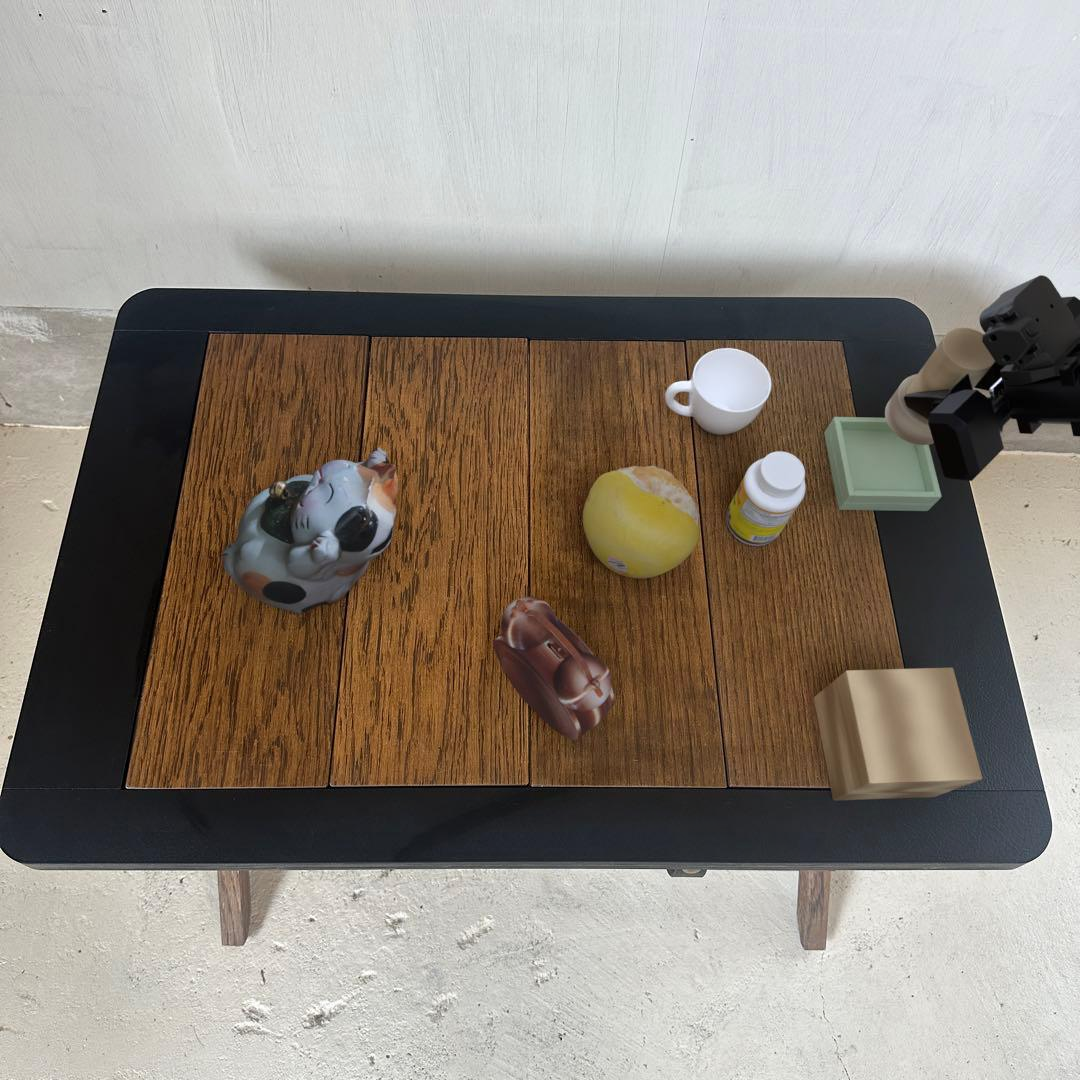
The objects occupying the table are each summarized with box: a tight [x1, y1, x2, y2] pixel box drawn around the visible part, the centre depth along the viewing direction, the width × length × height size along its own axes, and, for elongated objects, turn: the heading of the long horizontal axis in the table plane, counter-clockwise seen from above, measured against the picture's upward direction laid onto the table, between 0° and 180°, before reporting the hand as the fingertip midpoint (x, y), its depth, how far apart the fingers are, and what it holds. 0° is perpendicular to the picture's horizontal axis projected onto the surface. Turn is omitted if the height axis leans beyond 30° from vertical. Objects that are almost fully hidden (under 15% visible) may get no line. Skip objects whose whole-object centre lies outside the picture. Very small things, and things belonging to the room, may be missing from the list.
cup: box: [664, 347, 772, 436], centre depth 86 cm, size 8×10×7 cm
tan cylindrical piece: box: [884, 327, 995, 446], centre depth 74 cm, size 6×6×10 cm
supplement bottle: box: [726, 450, 806, 547], centre depth 79 cm, size 6×6×10 cm
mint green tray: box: [823, 416, 942, 512], centre depth 86 cm, size 9×9×3 cm
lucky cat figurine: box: [221, 447, 399, 615], centre depth 75 cm, size 15×12×14 cm
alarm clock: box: [492, 596, 616, 741], centre depth 68 cm, size 11×5×15 cm, turn 42°
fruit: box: [582, 465, 701, 579], centre depth 78 cm, size 10×11×10 cm
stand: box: [813, 667, 983, 802], centre depth 71 cm, size 9×9×8 cm
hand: (921, 386), depth 75 cm, fingers closed on tan cylindrical piece, 4 cm apart
